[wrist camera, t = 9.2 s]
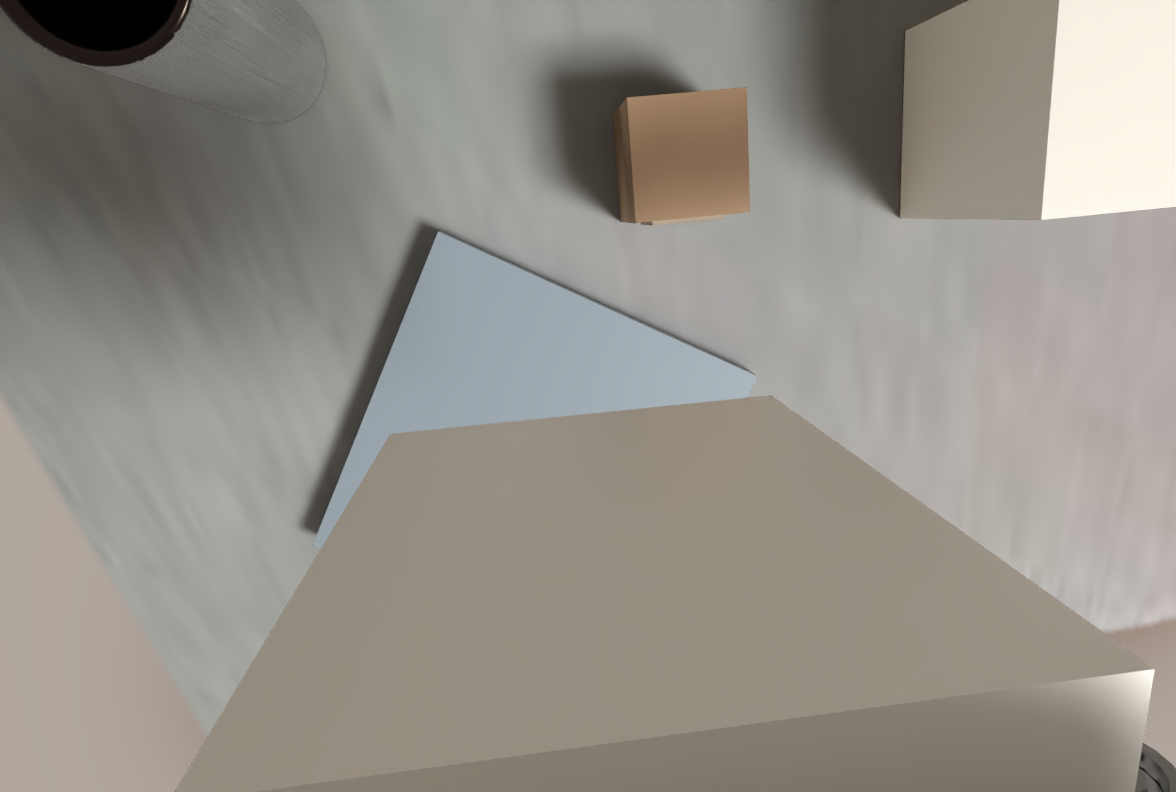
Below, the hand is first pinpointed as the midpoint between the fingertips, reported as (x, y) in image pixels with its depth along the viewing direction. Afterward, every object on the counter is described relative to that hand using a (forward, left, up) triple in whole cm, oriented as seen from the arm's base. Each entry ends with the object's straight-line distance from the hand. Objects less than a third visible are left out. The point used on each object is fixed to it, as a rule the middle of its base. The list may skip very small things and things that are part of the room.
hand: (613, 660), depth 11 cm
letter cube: (0, -10, -18) cm, 21 cm away
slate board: (0, +3, -18) cm, 18 cm away
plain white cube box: (-11, -17, -18) cm, 27 cm away
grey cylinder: (+15, -7, -18) cm, 25 cm away
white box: (0, 0, -2) cm, 2 cm away
